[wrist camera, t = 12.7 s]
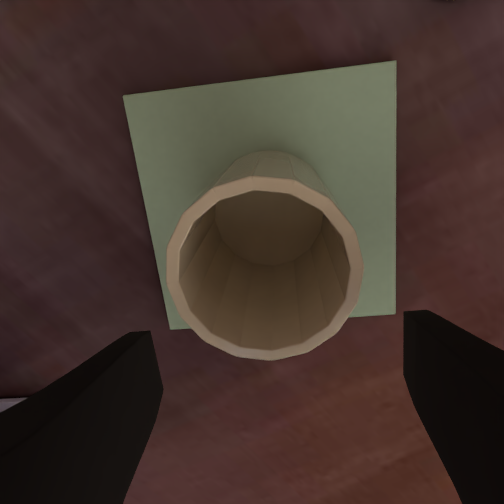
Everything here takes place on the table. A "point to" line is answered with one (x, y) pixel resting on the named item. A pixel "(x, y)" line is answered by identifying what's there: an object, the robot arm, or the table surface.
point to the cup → (265, 259)
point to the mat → (281, 139)
